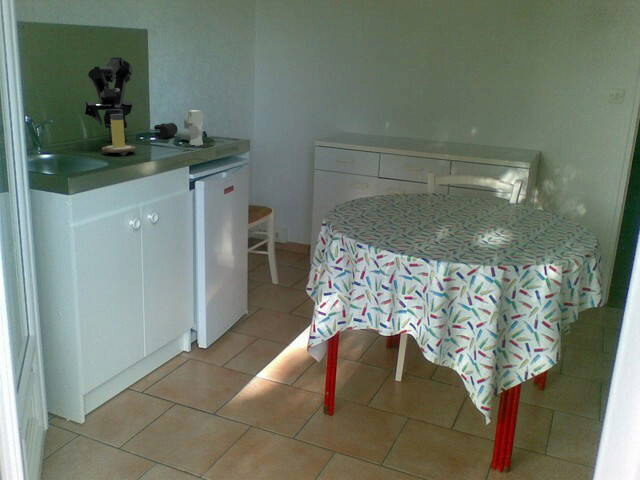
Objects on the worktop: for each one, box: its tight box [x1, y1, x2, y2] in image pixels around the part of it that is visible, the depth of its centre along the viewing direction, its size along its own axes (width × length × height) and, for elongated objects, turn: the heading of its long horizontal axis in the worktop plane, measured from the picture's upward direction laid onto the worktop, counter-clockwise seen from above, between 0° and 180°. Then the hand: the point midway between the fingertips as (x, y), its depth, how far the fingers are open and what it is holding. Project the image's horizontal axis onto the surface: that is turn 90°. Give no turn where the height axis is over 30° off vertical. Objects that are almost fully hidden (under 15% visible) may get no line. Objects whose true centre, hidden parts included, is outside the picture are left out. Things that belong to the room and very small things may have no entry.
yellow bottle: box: [110, 114, 126, 148], centre depth 257 cm, size 4×4×13 cm
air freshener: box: [178, 118, 204, 140], centre depth 295 cm, size 11×8×10 cm
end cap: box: [153, 122, 178, 140], centre depth 302 cm, size 10×7×7 cm
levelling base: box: [101, 144, 136, 157], centre depth 260 cm, size 13×13×3 cm
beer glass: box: [186, 109, 204, 147], centre depth 283 cm, size 7×7×15 cm
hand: (113, 123), depth 263 cm, fingers open, 9 cm apart
